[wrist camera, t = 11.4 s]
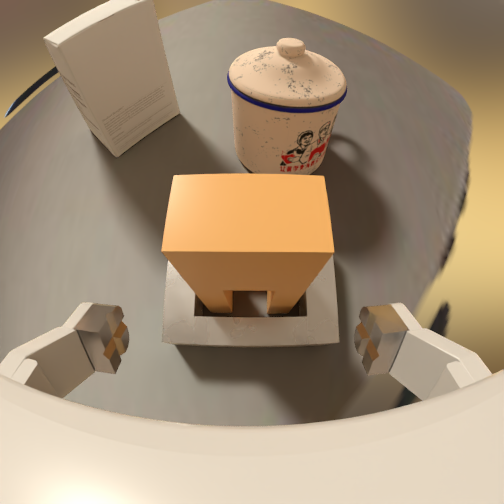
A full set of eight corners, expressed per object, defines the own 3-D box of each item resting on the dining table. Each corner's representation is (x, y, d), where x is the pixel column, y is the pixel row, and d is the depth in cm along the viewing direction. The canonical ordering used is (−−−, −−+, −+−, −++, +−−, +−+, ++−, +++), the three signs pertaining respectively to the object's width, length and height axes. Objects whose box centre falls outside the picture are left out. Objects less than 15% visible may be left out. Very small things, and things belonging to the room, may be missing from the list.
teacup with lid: (288, 203, 23) (312, 89, 12) (213, 150, 25) (197, 45, 15) (354, 135, 26) (387, 46, 16) (288, 97, 29) (297, 11, 18)
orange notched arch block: (286, 274, 21) (324, 175, 10) (287, 313, 20) (334, 252, 9) (213, 273, 21) (173, 175, 10) (211, 312, 20) (161, 251, 9)
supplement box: (144, 90, 30) (117, -4, 16) (182, 113, 28) (156, -5, 14) (87, 129, 28) (41, 37, 14) (115, 160, 25) (55, 44, 11)
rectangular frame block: (326, 345, 19) (339, 342, 16) (174, 344, 19) (161, 342, 16) (320, 242, 22) (329, 225, 19) (181, 242, 22) (172, 225, 19)
